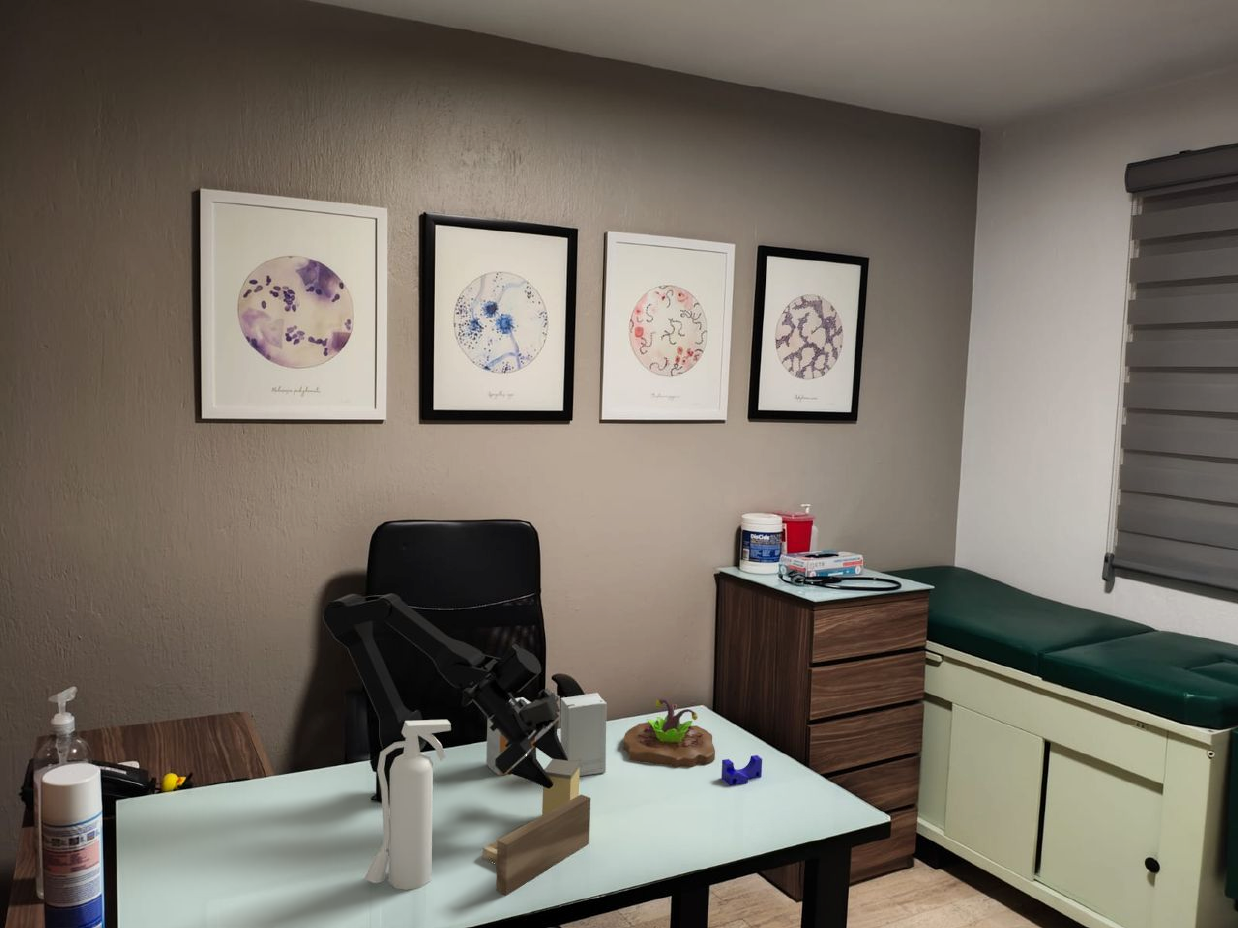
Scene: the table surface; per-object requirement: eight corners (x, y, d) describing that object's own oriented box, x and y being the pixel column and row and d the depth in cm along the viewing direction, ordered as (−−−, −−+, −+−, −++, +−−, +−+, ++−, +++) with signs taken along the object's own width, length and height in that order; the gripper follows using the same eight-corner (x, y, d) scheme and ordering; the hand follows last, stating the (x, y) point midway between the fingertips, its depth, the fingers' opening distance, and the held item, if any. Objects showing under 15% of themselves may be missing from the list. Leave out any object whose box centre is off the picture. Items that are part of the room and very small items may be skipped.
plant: (624, 729, 199) (625, 681, 198) (710, 733, 198) (712, 685, 197) (621, 766, 179) (622, 713, 178) (716, 771, 178) (718, 718, 177)
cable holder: (729, 786, 171) (730, 766, 171) (721, 779, 174) (722, 759, 174) (765, 781, 174) (766, 761, 174) (756, 773, 177) (757, 754, 177)
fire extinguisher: (359, 874, 136) (366, 719, 133) (436, 861, 141) (444, 711, 139) (366, 898, 129) (374, 736, 127) (446, 883, 135) (456, 727, 133)
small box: (499, 776, 172) (500, 712, 171) (485, 765, 177) (486, 702, 176) (535, 768, 176) (537, 705, 175) (521, 756, 181) (522, 695, 180)
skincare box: (597, 761, 180) (599, 691, 179) (606, 774, 174) (608, 701, 173) (557, 766, 177) (559, 695, 176) (566, 779, 172) (568, 705, 170)
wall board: (458, 871, 138) (459, 822, 137) (543, 824, 154) (544, 780, 153) (505, 895, 131) (506, 844, 131) (589, 843, 147) (590, 797, 147)
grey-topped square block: (541, 826, 153) (542, 771, 152) (551, 812, 158) (552, 758, 157) (569, 830, 151) (570, 775, 151) (578, 816, 157) (580, 762, 156)
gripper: (513, 697, 145) (575, 769, 143) (548, 664, 163) (604, 728, 161) (469, 738, 148) (530, 809, 146) (508, 701, 166) (563, 764, 164)
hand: (559, 775), depth 154 cm, fingers open, 9 cm apart
